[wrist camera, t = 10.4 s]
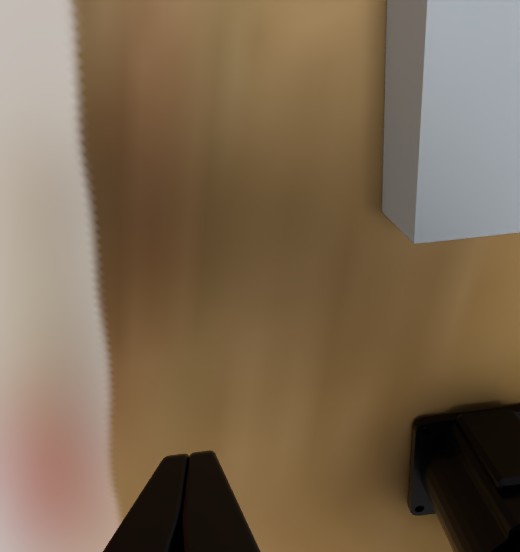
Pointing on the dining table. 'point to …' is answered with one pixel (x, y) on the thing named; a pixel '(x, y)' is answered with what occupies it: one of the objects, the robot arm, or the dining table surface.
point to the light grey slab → (452, 118)
